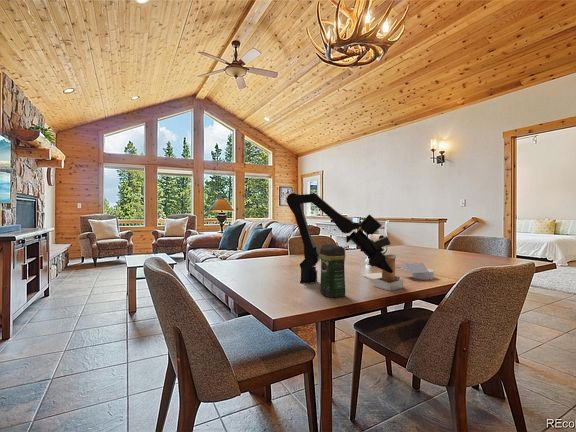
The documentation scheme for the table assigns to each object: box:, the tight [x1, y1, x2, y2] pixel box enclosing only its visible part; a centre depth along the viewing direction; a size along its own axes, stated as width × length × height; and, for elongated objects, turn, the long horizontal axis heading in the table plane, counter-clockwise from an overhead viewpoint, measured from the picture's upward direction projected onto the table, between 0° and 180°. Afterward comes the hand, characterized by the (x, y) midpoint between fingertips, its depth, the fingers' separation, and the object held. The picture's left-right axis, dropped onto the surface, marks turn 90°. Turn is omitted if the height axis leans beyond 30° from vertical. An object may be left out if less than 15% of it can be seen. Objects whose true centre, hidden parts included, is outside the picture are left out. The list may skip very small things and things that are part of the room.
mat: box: [360, 272, 382, 282], centre depth 137 cm, size 11×11×1 cm
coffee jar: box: [319, 243, 346, 298], centre depth 111 cm, size 10×8×19 cm
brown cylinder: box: [381, 253, 397, 282], centre depth 120 cm, size 6×6×13 cm
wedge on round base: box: [400, 262, 435, 281], centre depth 137 cm, size 9×7×13 cm
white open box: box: [373, 275, 404, 292], centre depth 121 cm, size 10×8×4 cm
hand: (391, 271), depth 120 cm, fingers closed on brown cylinder, 5 cm apart
